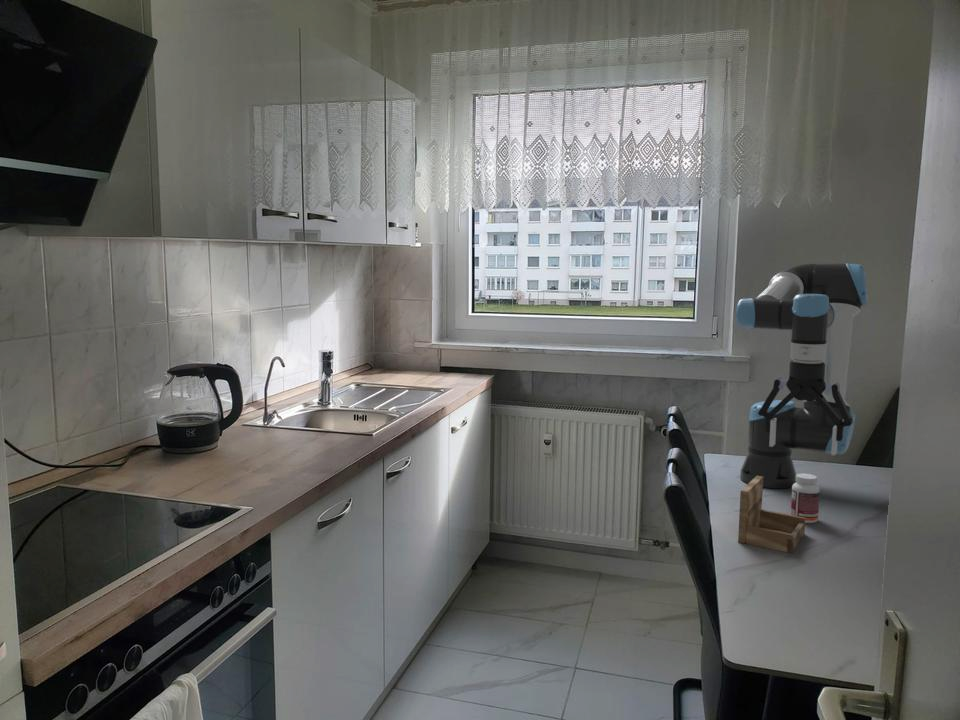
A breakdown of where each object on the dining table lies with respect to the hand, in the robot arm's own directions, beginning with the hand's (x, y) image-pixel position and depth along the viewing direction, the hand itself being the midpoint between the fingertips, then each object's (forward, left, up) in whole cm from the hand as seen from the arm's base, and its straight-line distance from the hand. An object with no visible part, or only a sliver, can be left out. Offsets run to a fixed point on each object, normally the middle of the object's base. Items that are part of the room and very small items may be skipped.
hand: (802, 449), depth 170 cm
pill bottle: (-5, +1, -19) cm, 19 cm away
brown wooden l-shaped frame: (+12, -3, -19) cm, 22 cm away
